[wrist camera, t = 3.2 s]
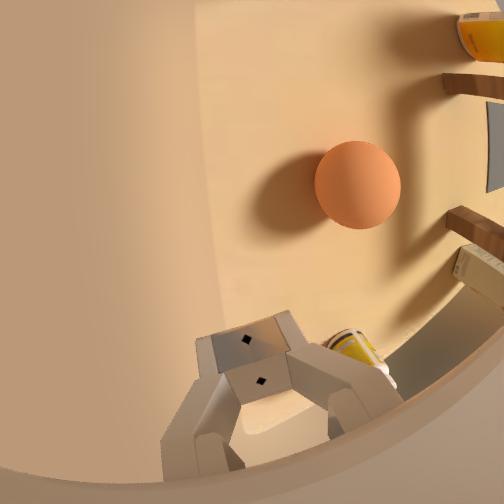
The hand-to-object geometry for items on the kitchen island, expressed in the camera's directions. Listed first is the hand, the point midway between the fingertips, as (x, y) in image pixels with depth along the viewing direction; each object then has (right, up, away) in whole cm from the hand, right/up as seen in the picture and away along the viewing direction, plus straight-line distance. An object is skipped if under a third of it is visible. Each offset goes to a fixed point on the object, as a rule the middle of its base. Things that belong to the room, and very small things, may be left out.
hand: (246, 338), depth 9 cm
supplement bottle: (+11, -7, +21) cm, 25 cm away
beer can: (+25, +27, +7) cm, 37 cm away
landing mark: (+35, +17, +15) cm, 42 cm away
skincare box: (+30, +2, +21) cm, 37 cm away
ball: (+7, +7, +9) cm, 14 cm away
